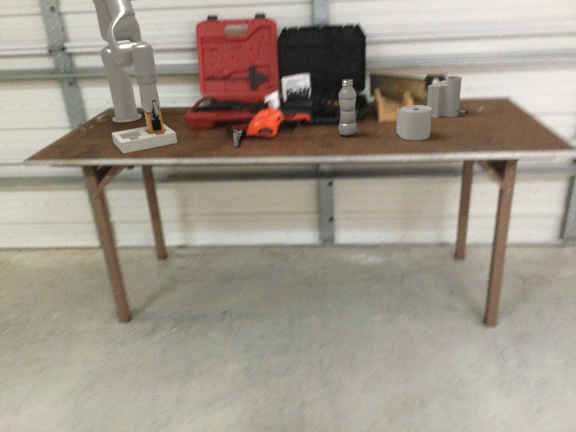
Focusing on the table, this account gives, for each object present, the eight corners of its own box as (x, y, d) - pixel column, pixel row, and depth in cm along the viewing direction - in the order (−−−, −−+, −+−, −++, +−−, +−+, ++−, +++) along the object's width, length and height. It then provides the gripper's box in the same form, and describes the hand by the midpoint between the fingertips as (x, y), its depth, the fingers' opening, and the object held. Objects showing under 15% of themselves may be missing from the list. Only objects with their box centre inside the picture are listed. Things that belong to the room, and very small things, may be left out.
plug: (147, 132, 195) (144, 112, 192) (160, 130, 197) (157, 109, 194) (151, 135, 191) (147, 114, 188) (164, 133, 193) (161, 112, 190)
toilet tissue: (429, 141, 177) (431, 112, 173) (394, 140, 180) (395, 112, 176) (429, 132, 186) (431, 104, 182) (396, 131, 189) (397, 104, 185)
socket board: (113, 142, 196) (111, 131, 194) (164, 133, 204) (162, 121, 202) (123, 153, 183) (120, 141, 181) (177, 142, 191) (175, 130, 189)
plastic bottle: (358, 132, 190) (359, 78, 182) (353, 138, 185) (353, 82, 176) (342, 131, 193) (342, 77, 184) (336, 136, 187) (335, 81, 179)
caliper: (237, 148, 182) (235, 131, 180) (234, 148, 183) (232, 131, 180) (246, 131, 201) (245, 116, 198) (243, 131, 201) (242, 116, 198)
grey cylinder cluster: (441, 109, 214) (444, 73, 207) (473, 114, 205) (477, 76, 198) (426, 116, 206) (428, 78, 200) (458, 121, 197) (462, 81, 190)
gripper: (130, 77, 191) (139, 125, 199) (142, 84, 177) (151, 135, 185) (150, 75, 194) (158, 121, 202) (163, 81, 180) (171, 131, 188)
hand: (155, 127), depth 193 cm, fingers closed on plug, 4 cm apart
